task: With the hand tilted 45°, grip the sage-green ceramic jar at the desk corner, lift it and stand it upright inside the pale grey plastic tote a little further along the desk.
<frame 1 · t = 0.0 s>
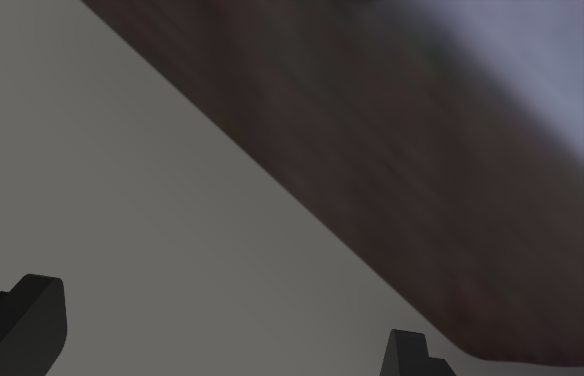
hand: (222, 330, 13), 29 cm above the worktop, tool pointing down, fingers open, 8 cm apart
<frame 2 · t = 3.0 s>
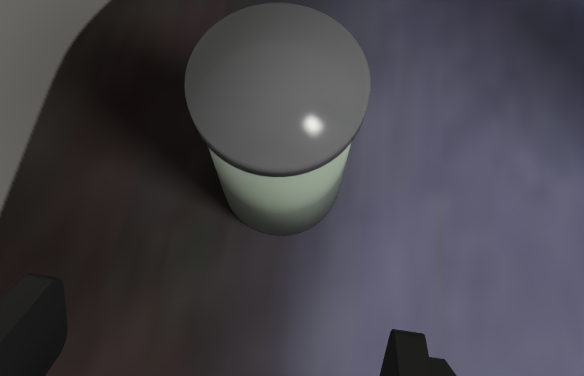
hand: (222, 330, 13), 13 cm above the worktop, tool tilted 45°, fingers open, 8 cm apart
jar: (281, 179, 28), on the worktop
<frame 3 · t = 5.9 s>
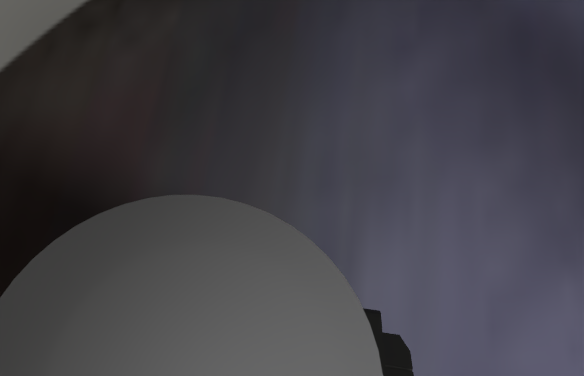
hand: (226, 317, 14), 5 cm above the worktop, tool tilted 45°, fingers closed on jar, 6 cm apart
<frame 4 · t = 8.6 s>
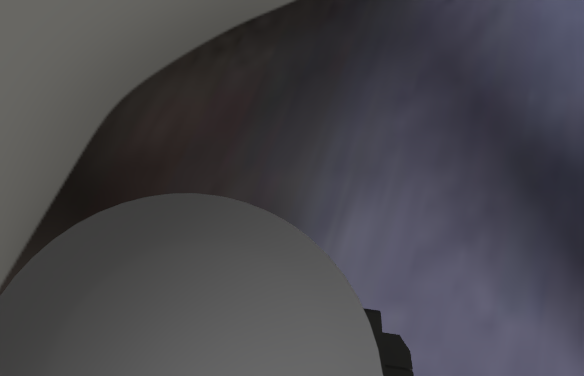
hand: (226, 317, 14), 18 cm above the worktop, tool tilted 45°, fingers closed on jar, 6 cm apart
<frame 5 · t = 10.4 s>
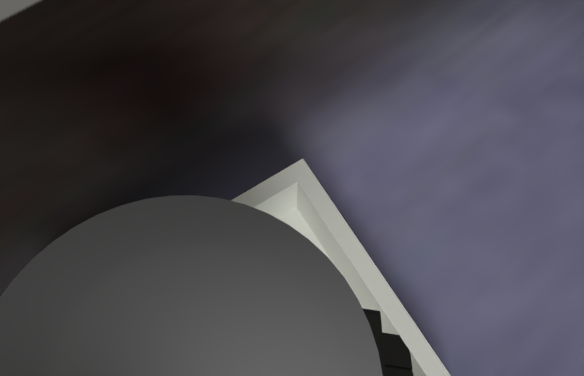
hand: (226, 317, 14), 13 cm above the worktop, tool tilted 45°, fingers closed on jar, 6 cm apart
when the fingers open (7 cm above the worktop, at t = 11.8 s): jar drops 1 cm, resting on tote.
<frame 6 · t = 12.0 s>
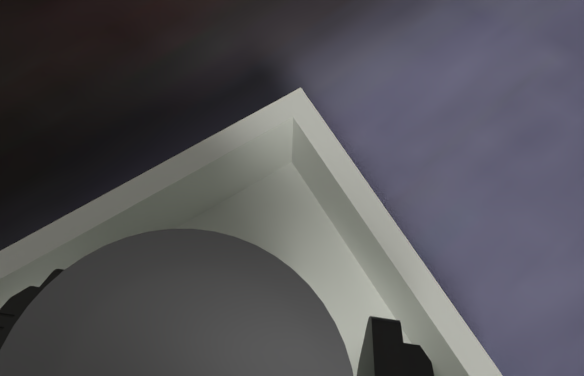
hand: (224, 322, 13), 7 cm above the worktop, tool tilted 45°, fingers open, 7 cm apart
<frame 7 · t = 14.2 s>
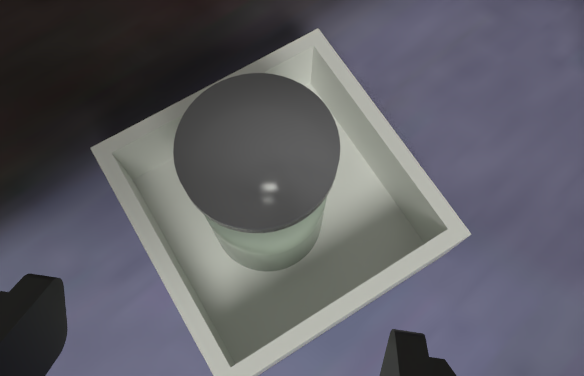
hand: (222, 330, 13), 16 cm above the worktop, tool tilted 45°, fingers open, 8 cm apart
tote: (277, 217, 31), on the worktop
jar: (267, 218, 30), point 1 cm above the worktop, touching tote
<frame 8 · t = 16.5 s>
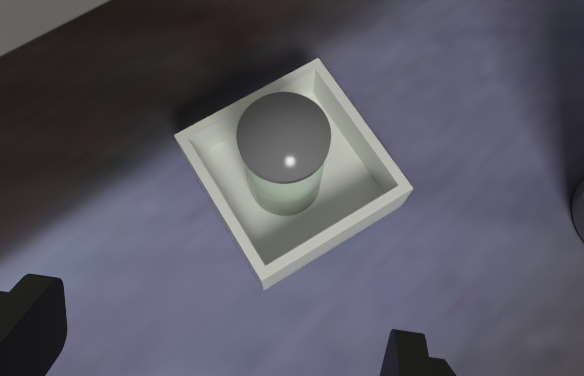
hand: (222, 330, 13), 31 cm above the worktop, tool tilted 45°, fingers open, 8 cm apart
tote: (291, 182, 47), on the worktop
jar: (285, 181, 46), point 1 cm above the worktop, touching tote
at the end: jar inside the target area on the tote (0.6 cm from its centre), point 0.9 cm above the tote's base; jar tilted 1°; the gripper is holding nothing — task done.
